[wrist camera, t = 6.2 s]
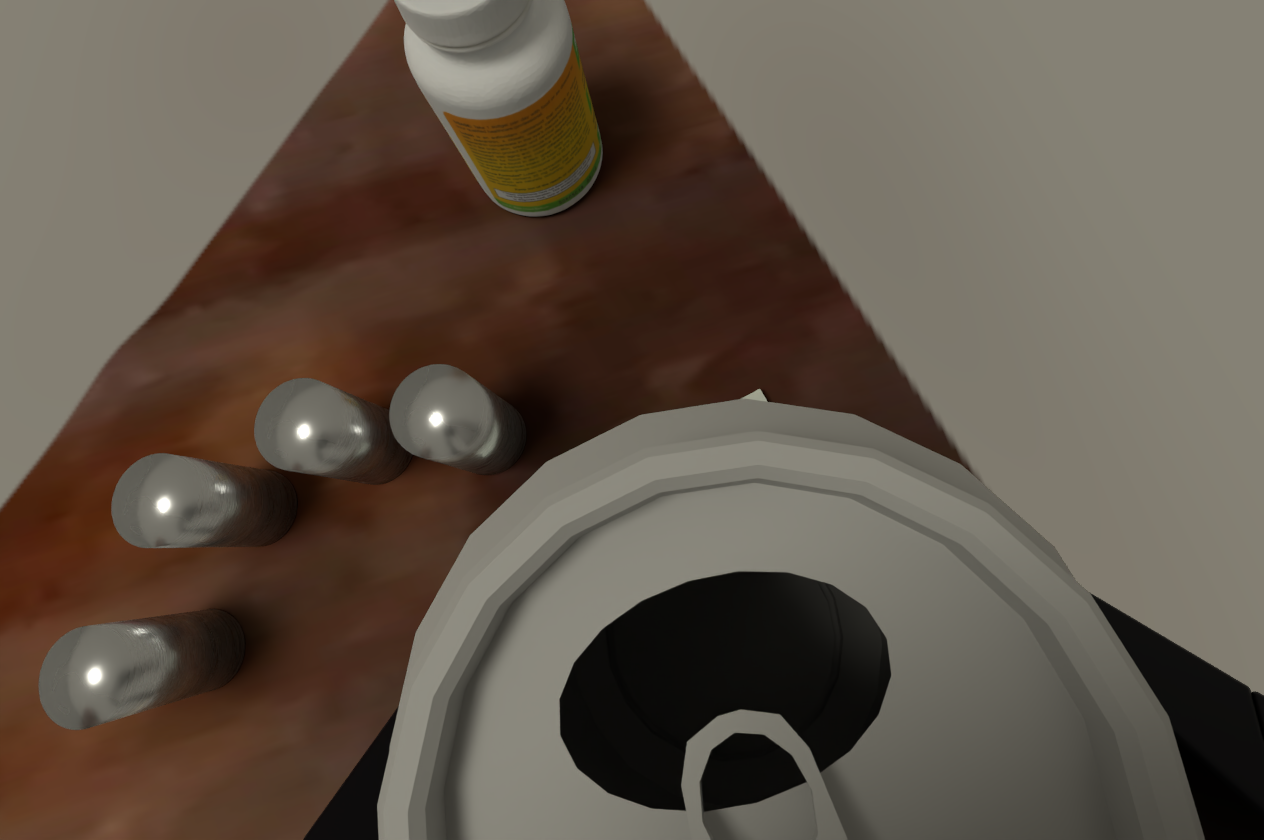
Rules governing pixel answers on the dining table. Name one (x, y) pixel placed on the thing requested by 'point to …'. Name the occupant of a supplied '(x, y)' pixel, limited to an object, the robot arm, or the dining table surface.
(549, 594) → the can
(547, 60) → the supplement bottle
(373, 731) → the dining table surface
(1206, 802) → the robot arm
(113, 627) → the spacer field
